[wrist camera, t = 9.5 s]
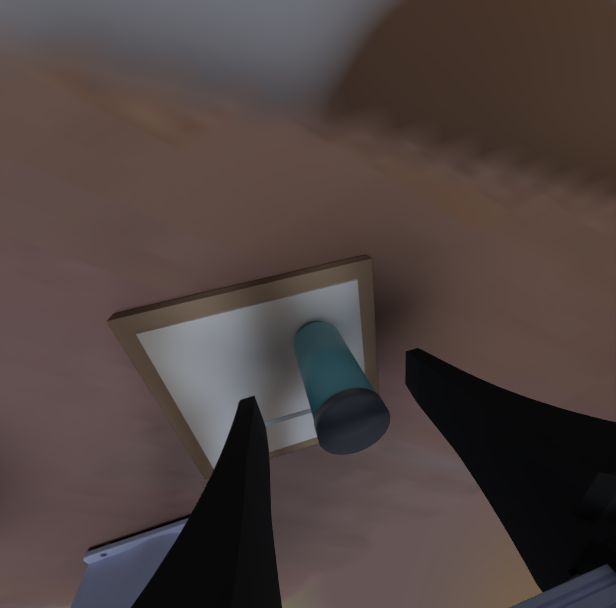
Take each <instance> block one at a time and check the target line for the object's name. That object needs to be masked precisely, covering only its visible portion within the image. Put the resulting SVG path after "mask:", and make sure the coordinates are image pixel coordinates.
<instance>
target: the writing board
mask: <svg viewBox="0 0 616 608" xmlns="http://www.w3.org/2000/svg"><path fill="white" fill-rule="evenodd" d="M311 321H323V322H326V323H329V324H332V325H333V326H334V327H336V328H337V330H338V331H339V333H340V335H341V336H342V338H343V340H344V341H345V343H346V344H347V346H348V348H349V349H350V351H351V353H352V354H353V356H354V358H355V359H356V361H357V362H358V364H359V366H360V367H361V369H362V371H363V372H364V374H365V376H366V377H367V379H368V380H369V382H370V384H371V385H372V387H373V389H374V390H375V392H376V393H377V394H378V395H379V389H378V369H377V348H376V328H375V308H374V288H373V268H372V258H371V257H369V256H367V255H362V256H358V257H354V258H350V259H345V260H341V261H337V262H332V263H328V264H324V265H320V266H315V267H311V268H307V269H303V270H298V271H294V272H290V273H286V274H281V275H277V276H273V277H268V278H264V279H260V280H256V281H251V282H247V283H243V284H239V285H234V286H230V287H226V288H221V289H217V290H213V291H209V292H204V293H200V294H196V295H192V296H187V297H183V298H179V299H174V300H170V301H166V302H162V303H157V304H153V305H149V306H145V307H140V308H136V309H132V310H127V311H123V312H119V313H115V314H113V315H112V316H111V317H110V318H109V319H108V320H107V323H108V325H109V326H110V328H111V329H112V331H113V333H114V334H115V336H116V337H117V339H118V341H119V342H120V344H121V345H122V347H123V349H124V350H125V352H126V353H127V355H128V357H129V358H130V360H131V361H132V363H133V365H134V366H135V368H136V369H137V371H138V373H139V374H140V376H141V377H142V379H143V381H144V382H145V384H146V385H147V387H148V389H149V390H150V392H151V393H152V395H153V397H154V398H155V400H156V401H157V403H158V405H159V406H160V408H161V409H162V411H163V413H164V414H165V416H166V417H167V419H168V421H169V422H170V424H171V425H172V427H173V429H174V430H175V432H176V433H177V435H178V437H179V438H180V440H181V441H182V443H183V445H184V446H185V448H186V449H187V451H188V453H189V454H190V456H191V457H192V459H193V461H194V462H195V464H196V465H197V467H198V469H199V470H200V472H201V473H202V475H203V477H204V478H205V479H208V478H210V477H211V475H212V473H213V470H214V468H215V466H216V463H217V461H218V459H219V457H220V454H221V452H222V450H223V447H224V445H225V442H226V439H227V437H228V434H229V431H230V429H231V426H232V423H233V420H234V417H235V414H236V410H237V407H238V403H239V401H240V400H241V399H244V398H248V397H251V396H255V398H256V401H257V404H258V407H259V409H260V412H261V415H262V417H263V420H264V423H265V426H266V432H267V439H268V446H269V459H271V458H274V457H277V456H280V455H283V454H287V453H290V452H293V451H296V450H299V449H302V448H305V447H308V446H312V445H315V444H318V443H319V441H318V438H317V435H316V431H315V427H314V419H313V416H312V412H311V408H310V405H309V401H308V398H307V394H306V391H305V387H304V384H303V380H302V376H301V373H300V369H299V366H298V362H297V359H296V355H295V352H294V347H293V344H294V340H295V337H296V335H297V333H298V331H299V330H300V328H301V327H302V326H303V325H305V324H306V323H308V322H311Z"/></svg>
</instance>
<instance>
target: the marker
mask: <svg viewBox="0 0 616 608" xmlns="http://www.w3.org/2000/svg"><path fill="white" fill-rule="evenodd" d="M293 347H294V352H295V355H296V359H297V362H298V366H299V369H300V373H301V376H302V380H303V384H304V387H305V391H306V394H307V398H308V401H309V405H310V408H311V412H312V416H313V419H314V427H315V431H316V435H317V438H318V441H319V444H320V446H321V447H322V448H323V449H324V450H326V451H327V452H330V453H333V454H340V455H342V454H351V453H355V452H359V451H361V450H364V449H366V448H368V447H369V446H371V445H372V444H374V443H375V442H377V441H378V440H379V439H380V438H381V437H382V436H383V434H384V433H385V432H386V430H387V428H388V426H389V423H390V413H389V411H388V409H387V407H386V406H385V404H384V403H383V401H382V399H381V398H380V396H379V395H378V394H377V393H376V392H375V390H374V389H373V387H372V385H371V384H370V382H369V380H368V379H367V377H366V376H365V374H364V372H363V371H362V369H361V367H360V366H359V364H358V362H357V361H356V359H355V358H354V356H353V354H352V353H351V351H350V349H349V348H348V346H347V344H346V343H345V341H344V340H343V338H342V336H341V335H340V333H339V331H338V330H337V328H336V327H334V326H333V325H332V324H329V323H326V322H323V321H311V322H308V323H306V324H305V325H303V326H302V327H301V328H300V330H299V331H298V333H297V335H296V337H295V340H294V344H293Z"/></svg>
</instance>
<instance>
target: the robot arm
mask: <svg viewBox="0 0 616 608" xmlns="http://www.w3.org/2000/svg"><path fill="white" fill-rule="evenodd" d="M405 384H406V385H407V387H408V389H409V390H410V392H411V394H412V395H413V397H414V398H415V400H416V402H417V403H418V404H419V406H420V407H421V408H422V410H423V411H424V412H425V413H426V415H427V416H428V417H429V418H430V420H431V421H432V422H433V423H434V425H435V426H436V427H437V428H438V430H439V431H440V432H441V433H442V435H443V436H444V437H445V438H446V440H447V441H448V442H449V443H450V445H451V446H452V447H453V448H454V450H455V451H456V452H457V454H458V455H459V457H460V458H461V460H462V461H463V463H464V464H465V466H466V467H467V469H468V470H469V472H470V473H471V475H472V476H473V478H474V479H475V481H476V482H477V484H478V485H479V487H480V488H481V490H482V492H483V493H484V495H485V496H486V498H487V499H488V501H489V502H490V504H491V506H492V507H493V509H494V511H495V512H496V514H497V516H498V517H499V519H500V521H501V522H502V524H503V526H504V527H505V529H506V531H507V532H508V534H509V536H510V537H511V539H512V541H513V542H514V544H515V546H516V548H517V550H518V551H519V553H520V555H521V557H522V558H523V560H524V562H525V563H526V565H527V567H528V569H529V571H530V572H531V574H532V576H533V578H534V580H535V582H536V584H537V585H538V586H539V588H540V589H541V590H542V592H543V593H541V594H539V595H536V596H534V597H532V598H530V599H527V600H525V601H523V602H521V603H518V604H516V605H514V606H512V607H510V608H616V422H612V421H607V420H603V419H599V418H595V417H591V416H588V415H584V414H580V413H576V412H572V411H569V410H565V409H562V408H558V407H555V406H552V405H549V404H546V403H542V402H539V401H536V400H533V399H530V398H527V397H524V396H522V395H519V394H516V393H514V392H511V391H508V390H506V389H503V388H500V387H498V386H496V385H493V384H491V383H489V382H486V381H484V380H482V379H479V378H477V377H475V376H473V375H471V374H469V373H466V372H464V371H462V370H460V369H458V368H456V367H454V366H452V365H450V364H448V363H446V362H444V361H442V360H440V359H438V358H436V357H435V356H433V355H431V354H429V353H427V352H425V351H423V350H421V349H419V348H416V349H413V350H409V351H406V375H405ZM83 560H84V562H86V563H87V564H89V565H88V567H87V569H86V571H85V574H84V576H83V579H82V581H81V584H80V586H79V589H78V591H77V593H76V596H75V598H74V601H73V603H72V606H71V608H282V604H281V596H280V589H279V581H278V572H277V564H276V556H275V547H274V538H273V529H272V519H271V497H270V464H269V446H268V439H267V432H266V426H265V423H264V420H263V417H262V415H261V412H260V409H259V407H258V404H257V401H256V398H255V396H251V397H248V398H244V399H241V400H240V401H239V403H238V407H237V410H236V414H235V417H234V420H233V423H232V426H231V429H230V431H229V434H228V437H227V439H226V442H225V445H224V447H223V450H222V452H221V454H220V457H219V459H218V461H217V463H216V466H215V468H214V470H213V473H212V475H211V477H210V479H209V481H208V483H207V485H206V487H205V489H204V491H203V493H202V495H201V497H200V499H199V501H198V502H197V504H196V506H195V508H194V510H193V511H192V513H191V515H190V517H189V518H187V519H184V520H181V521H178V522H175V523H172V524H169V525H166V526H163V527H160V528H157V529H154V530H151V531H148V532H145V533H142V534H139V535H136V536H133V537H130V538H127V539H124V540H121V541H118V542H115V543H112V544H109V545H106V546H103V547H100V548H97V549H94V550H91V551H88V552H87V553H86V554H85V556H84V559H83Z"/></svg>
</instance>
